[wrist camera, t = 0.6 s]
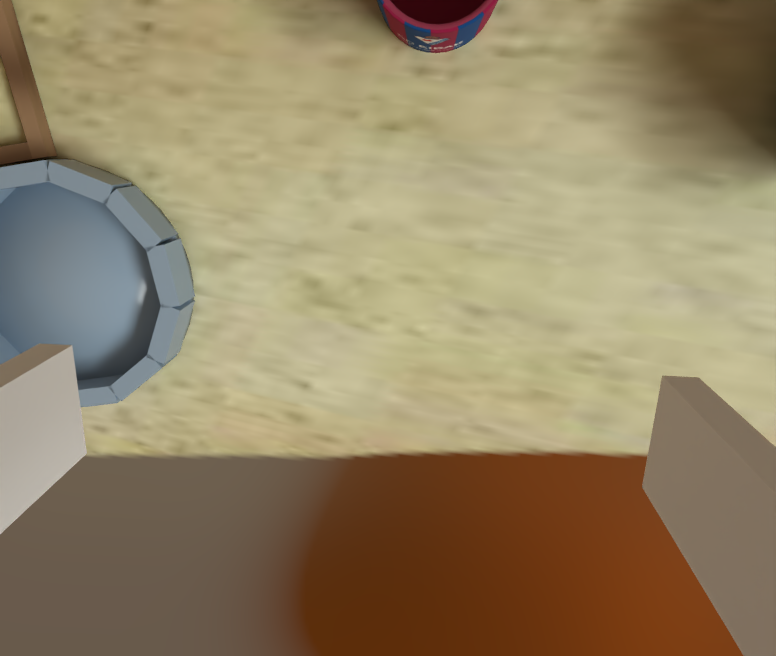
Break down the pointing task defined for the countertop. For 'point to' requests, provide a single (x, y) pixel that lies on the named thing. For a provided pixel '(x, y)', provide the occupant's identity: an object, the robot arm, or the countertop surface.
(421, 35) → the mug
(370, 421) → the countertop surface
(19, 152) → the open rectangular frame
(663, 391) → the robot arm
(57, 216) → the bowl
